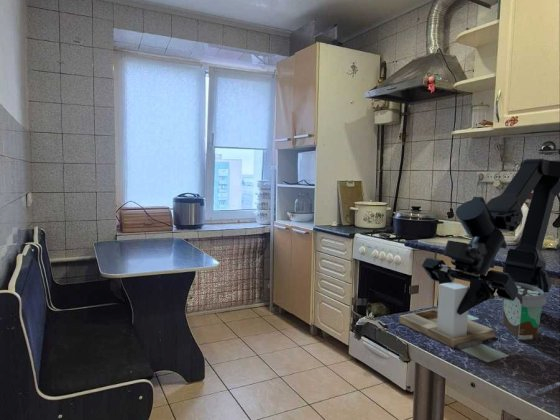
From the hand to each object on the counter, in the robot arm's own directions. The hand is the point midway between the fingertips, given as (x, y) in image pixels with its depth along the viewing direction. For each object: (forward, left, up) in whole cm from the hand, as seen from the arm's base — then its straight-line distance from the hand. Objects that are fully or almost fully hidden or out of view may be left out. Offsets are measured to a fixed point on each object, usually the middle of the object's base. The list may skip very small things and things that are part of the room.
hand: (448, 310), depth 82 cm
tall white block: (-1, 0, -6) cm, 6 cm away
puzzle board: (-7, -1, -7) cm, 10 cm away
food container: (-18, +5, -7) cm, 20 cm away
